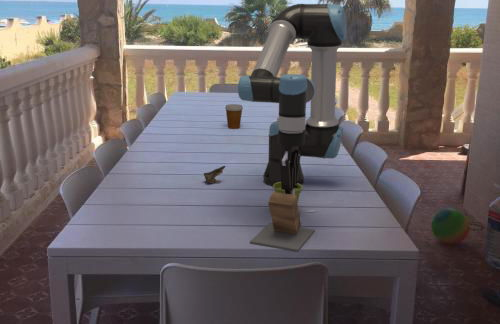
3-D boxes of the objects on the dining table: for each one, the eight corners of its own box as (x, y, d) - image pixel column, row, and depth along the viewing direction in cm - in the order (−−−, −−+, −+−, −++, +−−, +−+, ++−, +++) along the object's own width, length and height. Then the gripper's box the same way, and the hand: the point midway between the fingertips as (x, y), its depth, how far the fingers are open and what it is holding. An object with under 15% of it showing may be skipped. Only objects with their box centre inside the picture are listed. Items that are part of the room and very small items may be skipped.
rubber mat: (269, 224, 179) (270, 222, 178) (314, 231, 174) (314, 229, 173) (249, 243, 164) (249, 241, 164) (297, 251, 159) (298, 249, 159)
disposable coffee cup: (223, 126, 320) (223, 104, 317) (239, 125, 323) (240, 103, 320) (227, 130, 311) (227, 107, 308) (245, 129, 314) (245, 106, 311)
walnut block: (278, 221, 175) (272, 191, 167) (301, 224, 172) (296, 195, 164) (274, 230, 172) (268, 201, 164) (297, 234, 169) (292, 205, 162)
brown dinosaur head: (223, 182, 223) (224, 164, 223) (225, 184, 217) (227, 166, 217) (202, 181, 222) (203, 163, 221) (204, 183, 216) (205, 165, 215)
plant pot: (299, 206, 195) (300, 181, 192) (303, 216, 186) (304, 190, 183) (271, 206, 194) (272, 181, 192) (273, 216, 185) (274, 190, 183)
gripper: (286, 125, 172) (284, 202, 178) (270, 133, 161) (268, 215, 167) (311, 127, 170) (307, 205, 176) (297, 136, 158) (294, 219, 164)
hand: (288, 210), depth 171 cm, fingers closed
